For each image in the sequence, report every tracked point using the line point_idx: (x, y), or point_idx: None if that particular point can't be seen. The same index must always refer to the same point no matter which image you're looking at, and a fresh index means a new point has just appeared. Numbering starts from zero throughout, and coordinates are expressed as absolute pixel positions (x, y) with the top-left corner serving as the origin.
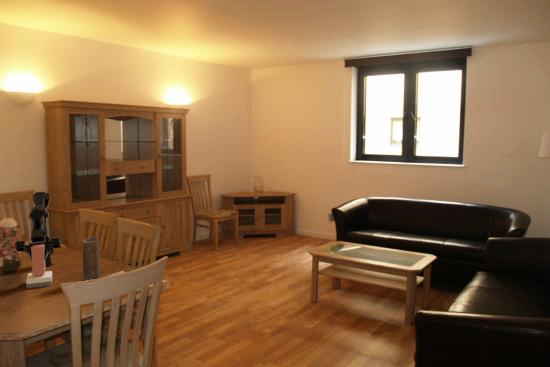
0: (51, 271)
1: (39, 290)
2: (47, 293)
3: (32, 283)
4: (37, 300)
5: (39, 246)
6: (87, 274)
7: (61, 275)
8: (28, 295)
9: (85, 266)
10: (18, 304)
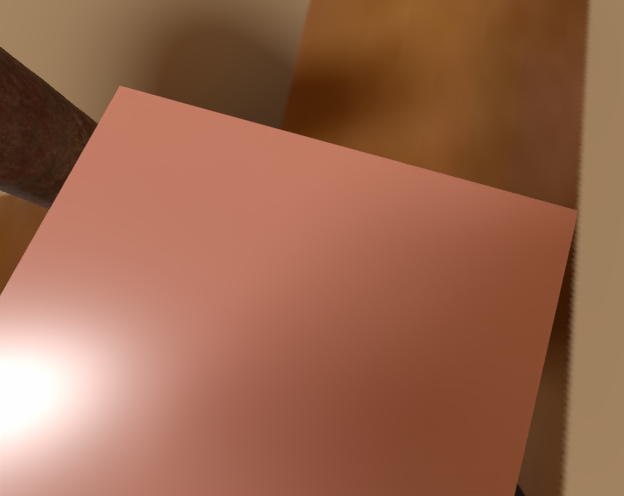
0: None
1: None
2: (347, 105)
3: None
4: (419, 33)
5: (204, 243)
6: (74, 106)
7: None
8: (444, 138)
9: (22, 72)
10: (515, 32)
